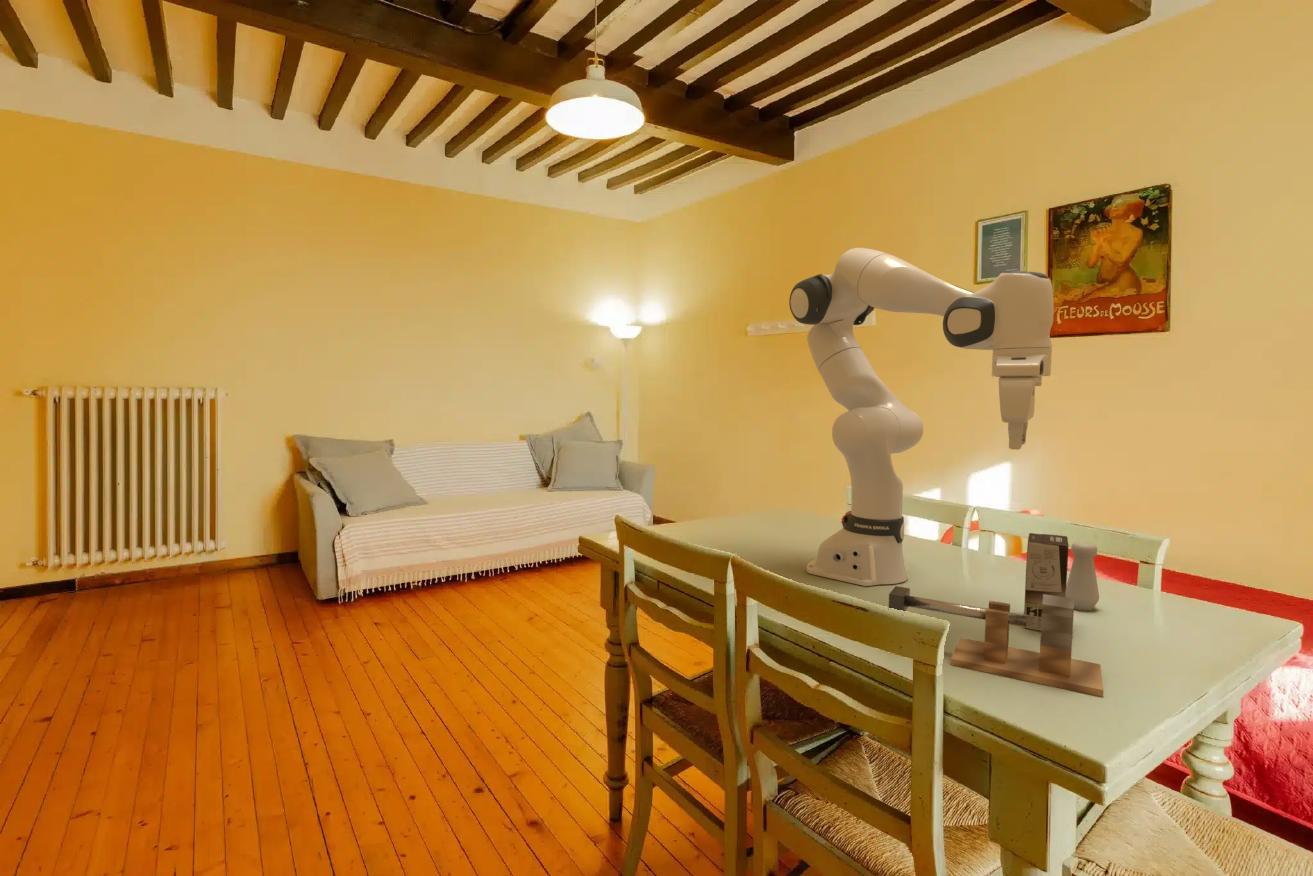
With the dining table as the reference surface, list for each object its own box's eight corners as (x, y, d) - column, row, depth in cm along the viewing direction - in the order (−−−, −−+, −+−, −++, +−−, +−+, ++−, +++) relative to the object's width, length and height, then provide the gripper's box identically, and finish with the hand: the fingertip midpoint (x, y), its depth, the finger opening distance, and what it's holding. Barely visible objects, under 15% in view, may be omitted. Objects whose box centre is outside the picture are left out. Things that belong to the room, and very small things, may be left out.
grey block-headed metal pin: (888, 611, 110) (889, 593, 110) (895, 602, 114) (895, 586, 114) (1025, 635, 99) (1026, 616, 99) (1026, 625, 104) (1027, 607, 103)
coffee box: (1064, 635, 115) (1069, 546, 113) (1022, 628, 118) (1026, 541, 117) (1064, 619, 123) (1068, 535, 121) (1024, 613, 126) (1028, 531, 125)
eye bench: (950, 664, 103) (953, 594, 102) (959, 643, 112) (961, 578, 111) (1103, 696, 93) (1107, 619, 92) (1100, 670, 101) (1104, 599, 100)
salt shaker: (1104, 613, 126) (1107, 547, 124) (1071, 611, 127) (1074, 546, 126) (1090, 603, 131) (1093, 540, 130) (1059, 601, 132) (1062, 538, 131)
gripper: (1005, 367, 122) (1002, 441, 123) (993, 365, 105) (990, 451, 106) (1045, 367, 118) (1041, 442, 119) (1039, 364, 101) (1035, 453, 102)
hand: (1017, 446), depth 112 cm, fingers open, 8 cm apart
